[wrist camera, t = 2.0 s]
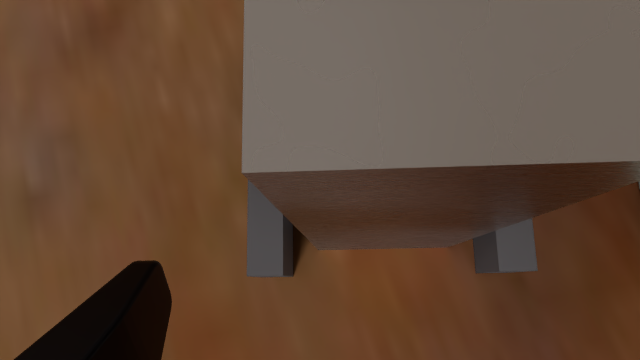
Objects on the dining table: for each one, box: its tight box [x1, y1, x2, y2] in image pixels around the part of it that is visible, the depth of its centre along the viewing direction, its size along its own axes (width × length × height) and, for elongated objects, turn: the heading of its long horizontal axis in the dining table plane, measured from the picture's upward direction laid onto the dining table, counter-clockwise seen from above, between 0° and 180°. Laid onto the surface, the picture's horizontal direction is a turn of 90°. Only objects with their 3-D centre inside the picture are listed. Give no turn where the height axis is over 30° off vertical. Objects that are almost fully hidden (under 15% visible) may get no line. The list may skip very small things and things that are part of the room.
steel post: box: [242, 0, 640, 250], centre depth 13 cm, size 5×5×14 cm
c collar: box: [247, 180, 538, 277], centre depth 18 cm, size 8×9×3 cm
